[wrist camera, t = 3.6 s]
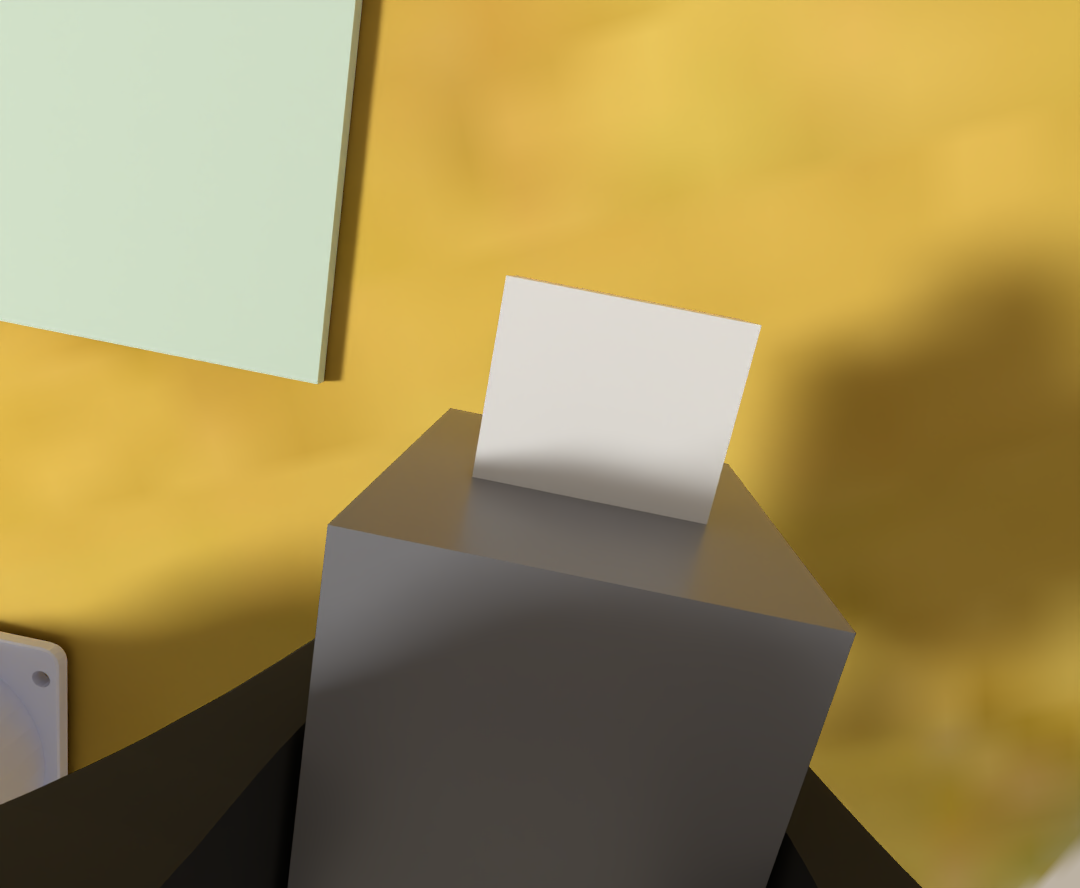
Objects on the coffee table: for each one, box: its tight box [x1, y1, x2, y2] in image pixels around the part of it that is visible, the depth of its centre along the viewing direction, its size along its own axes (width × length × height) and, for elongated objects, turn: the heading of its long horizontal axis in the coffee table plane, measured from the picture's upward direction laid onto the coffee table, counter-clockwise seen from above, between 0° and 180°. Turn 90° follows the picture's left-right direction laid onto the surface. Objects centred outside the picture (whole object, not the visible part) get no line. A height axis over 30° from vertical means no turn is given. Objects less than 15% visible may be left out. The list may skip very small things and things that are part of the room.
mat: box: [0, 0, 363, 384], centre depth 15 cm, size 10×9×1 cm
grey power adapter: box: [288, 275, 856, 888], centre depth 8 cm, size 12×4×4 cm, turn 169°
